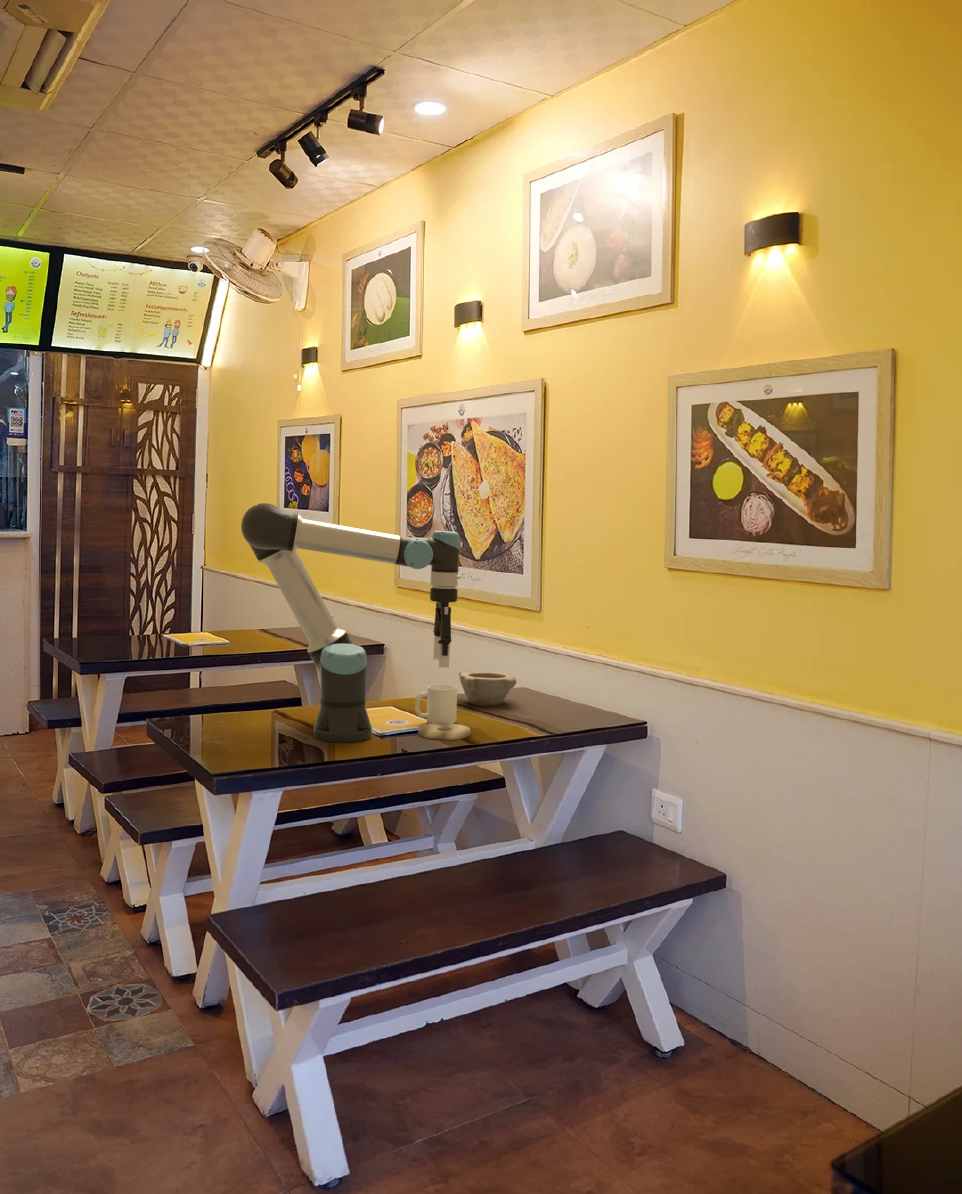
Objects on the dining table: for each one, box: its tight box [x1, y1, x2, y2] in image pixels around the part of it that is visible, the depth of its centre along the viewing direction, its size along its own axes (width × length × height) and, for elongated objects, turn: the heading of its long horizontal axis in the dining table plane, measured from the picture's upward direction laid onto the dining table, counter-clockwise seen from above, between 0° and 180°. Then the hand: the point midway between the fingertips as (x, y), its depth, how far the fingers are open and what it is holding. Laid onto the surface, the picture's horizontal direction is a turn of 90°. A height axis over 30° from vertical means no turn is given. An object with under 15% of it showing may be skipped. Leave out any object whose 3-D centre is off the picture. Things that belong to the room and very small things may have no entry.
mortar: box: [458, 670, 517, 707], centre depth 309 cm, size 17×17×9 cm
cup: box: [414, 683, 458, 724], centre depth 279 cm, size 8×12×10 cm
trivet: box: [417, 723, 472, 741], centre depth 267 cm, size 14×14×1 cm
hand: (440, 663), depth 278 cm, fingers open, 13 cm apart
